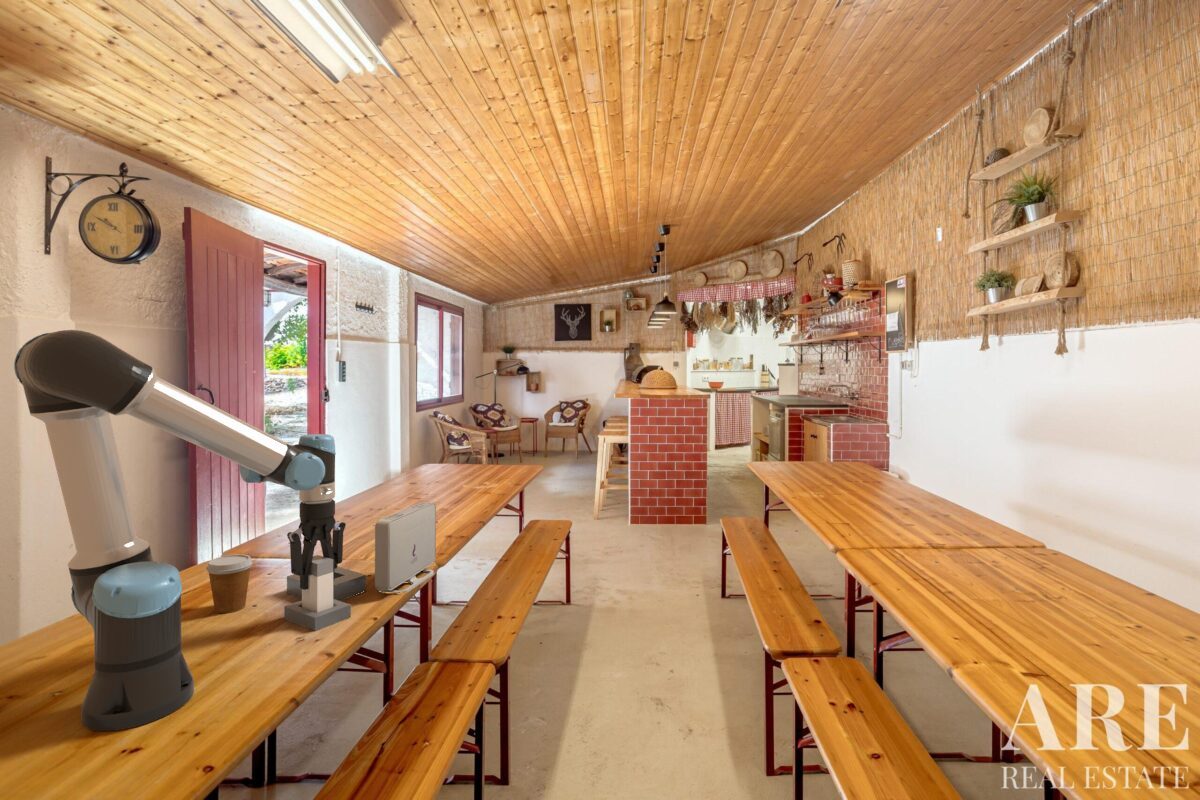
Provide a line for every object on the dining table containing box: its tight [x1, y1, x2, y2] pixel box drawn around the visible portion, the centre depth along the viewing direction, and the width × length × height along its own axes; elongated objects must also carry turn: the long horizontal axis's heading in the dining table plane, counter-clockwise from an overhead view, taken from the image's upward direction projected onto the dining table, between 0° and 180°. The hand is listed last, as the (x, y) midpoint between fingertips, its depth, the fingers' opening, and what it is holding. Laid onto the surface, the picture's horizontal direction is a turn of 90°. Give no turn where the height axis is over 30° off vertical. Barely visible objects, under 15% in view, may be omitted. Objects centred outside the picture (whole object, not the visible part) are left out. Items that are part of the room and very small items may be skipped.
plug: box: [301, 554, 333, 613], centre depth 136 cm, size 4×6×14 cm, turn 59°
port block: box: [286, 566, 367, 601], centre depth 152 cm, size 12×16×5 cm
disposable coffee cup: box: [205, 553, 253, 614], centre depth 141 cm, size 10×10×12 cm
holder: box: [283, 599, 352, 632], centre depth 136 cm, size 9×12×3 cm
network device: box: [374, 501, 437, 594], centre depth 161 cm, size 26×9×20 cm, turn 168°
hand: (317, 598), depth 136 cm, fingers closed on plug, 4 cm apart
